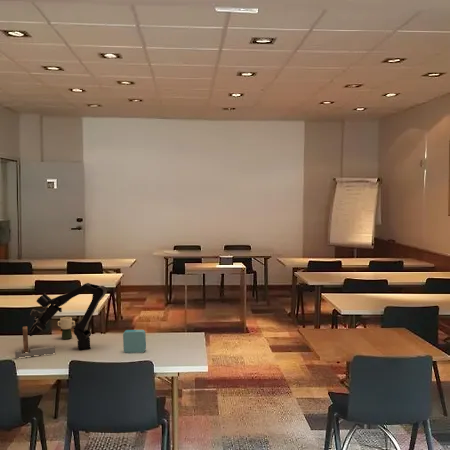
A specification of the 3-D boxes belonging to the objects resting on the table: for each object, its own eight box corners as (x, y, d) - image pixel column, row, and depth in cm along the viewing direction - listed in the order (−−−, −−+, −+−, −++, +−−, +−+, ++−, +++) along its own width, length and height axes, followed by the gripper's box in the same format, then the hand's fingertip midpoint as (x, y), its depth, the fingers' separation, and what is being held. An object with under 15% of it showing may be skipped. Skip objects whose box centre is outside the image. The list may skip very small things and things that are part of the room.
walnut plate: (28, 349, 316) (27, 326, 315) (28, 353, 309) (27, 328, 308) (23, 350, 315) (22, 326, 314) (23, 353, 308) (22, 329, 308)
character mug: (77, 337, 342) (76, 316, 342) (73, 340, 335) (72, 319, 334) (60, 337, 343) (59, 316, 342) (56, 340, 336) (55, 319, 335)
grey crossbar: (55, 353, 307) (54, 346, 307) (55, 354, 305) (55, 347, 305) (15, 357, 300) (15, 350, 300) (15, 359, 298) (15, 352, 298)
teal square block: (146, 350, 309) (145, 329, 308) (144, 352, 304) (144, 331, 303) (125, 350, 309) (124, 329, 308) (123, 353, 304) (122, 331, 304)
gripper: (38, 301, 322) (19, 321, 319) (38, 307, 305) (18, 328, 301) (52, 313, 325) (33, 333, 322) (53, 319, 308) (34, 341, 305)
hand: (29, 333), depth 312 cm, fingers open, 9 cm apart
